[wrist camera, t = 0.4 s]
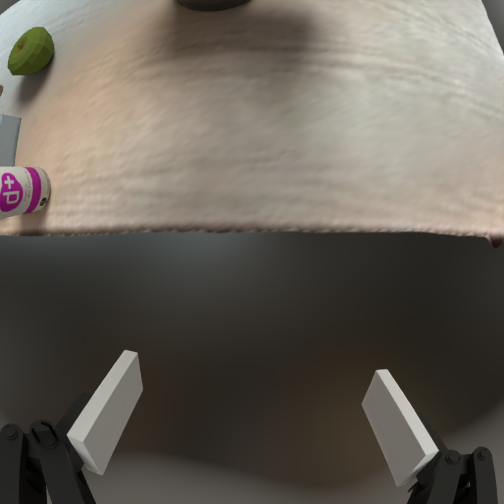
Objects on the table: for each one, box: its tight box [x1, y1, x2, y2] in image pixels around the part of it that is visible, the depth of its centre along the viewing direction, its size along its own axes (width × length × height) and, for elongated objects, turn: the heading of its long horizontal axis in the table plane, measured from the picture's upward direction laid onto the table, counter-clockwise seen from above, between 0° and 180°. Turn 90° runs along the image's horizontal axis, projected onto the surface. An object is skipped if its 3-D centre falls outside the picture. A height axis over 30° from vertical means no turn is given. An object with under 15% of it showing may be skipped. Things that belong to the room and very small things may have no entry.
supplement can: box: [0, 167, 50, 219], centre depth 30 cm, size 8×8×15 cm
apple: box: [8, 27, 54, 75], centre depth 26 cm, size 11×10×10 cm
